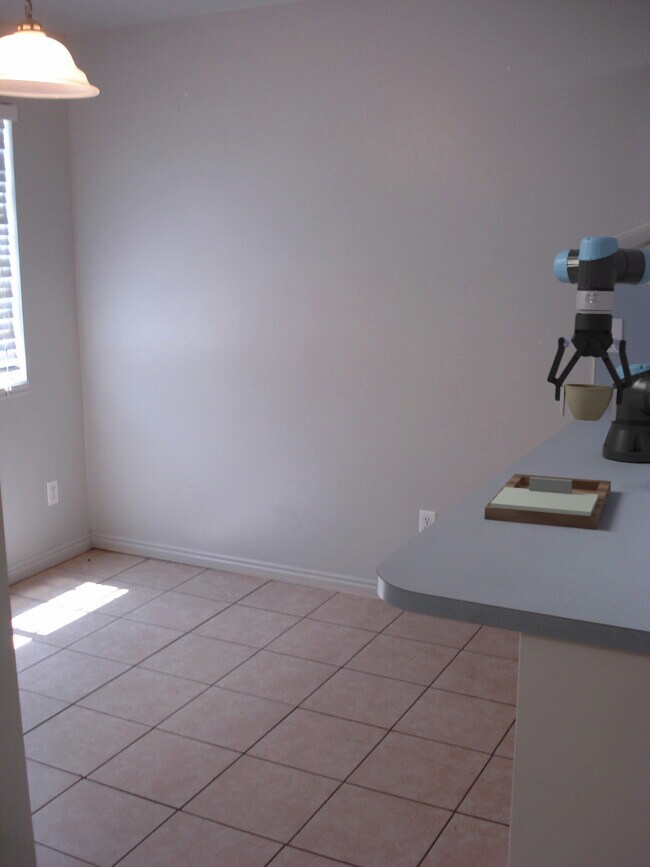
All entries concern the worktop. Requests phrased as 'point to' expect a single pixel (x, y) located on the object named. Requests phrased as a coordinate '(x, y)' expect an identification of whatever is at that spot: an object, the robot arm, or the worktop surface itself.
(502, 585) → the worktop surface
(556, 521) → the wooden box
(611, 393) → the flower pot
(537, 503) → the lid
